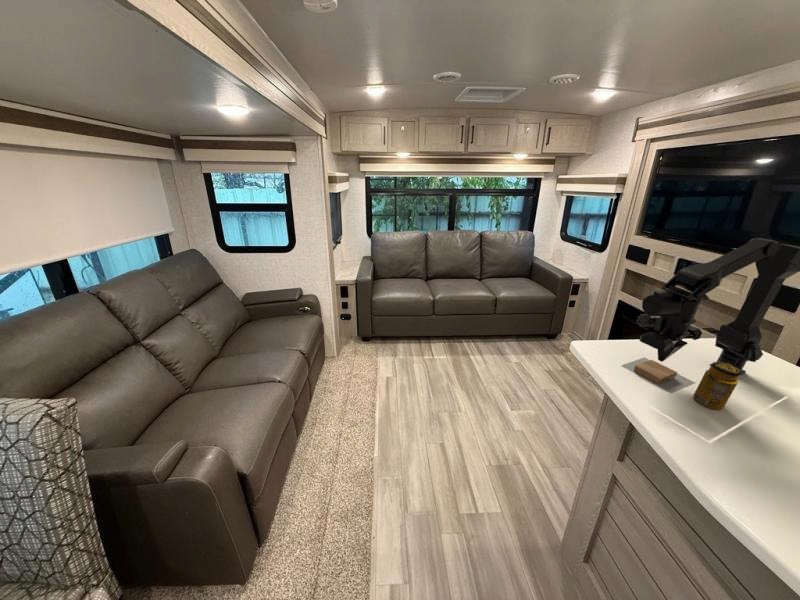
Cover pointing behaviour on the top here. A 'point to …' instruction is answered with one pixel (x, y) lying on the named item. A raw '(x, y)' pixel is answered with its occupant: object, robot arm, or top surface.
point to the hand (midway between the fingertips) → (660, 360)
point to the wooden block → (655, 371)
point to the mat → (669, 385)
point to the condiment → (717, 385)
